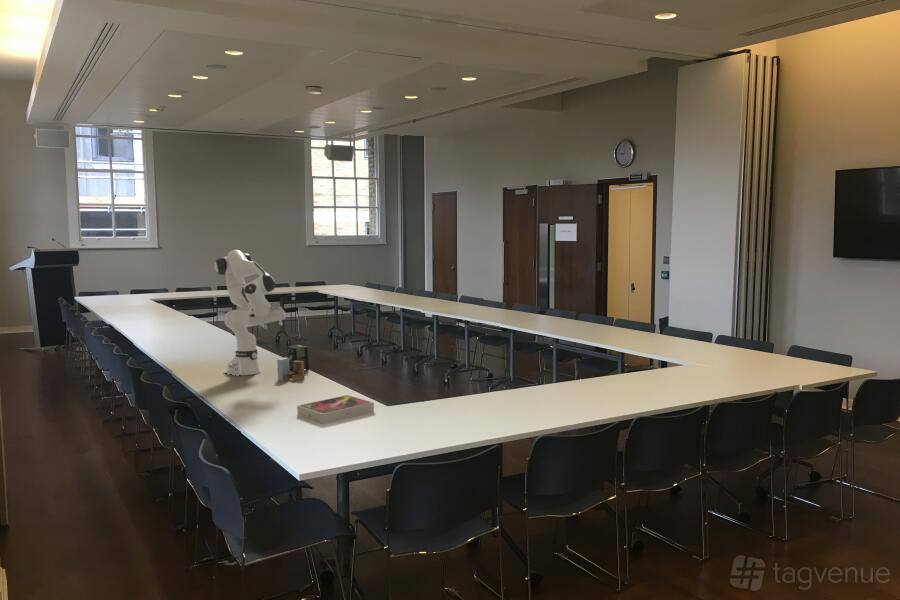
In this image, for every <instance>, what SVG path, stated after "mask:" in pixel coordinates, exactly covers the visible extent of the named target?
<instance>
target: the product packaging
mask: <svg viewBox="0 0 900 600" xmlns="http://www.w3.org/2000/svg"><path fill="white" fill-rule="evenodd" d="M296 409H297V416H299V415H300V417H301V418H304V417H305V419H307V418H308V420H310V421H313V422H316V423H318V422H319V424H321V425H324V424H329V423H333V422H337V421H341V420H346V419H349V418H354V417H358V416H362V415H366V414H371V413H374V412H375V404H374V402H373V401H370V400H367V399H364V398H359V397H356V396H352V395H350V394H346V395H341V396H335V397H332V398H327V399H326V398H325V399H323V400H318V401H312V402H308V403H303V404H298V405H297V406H296Z"/></svg>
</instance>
